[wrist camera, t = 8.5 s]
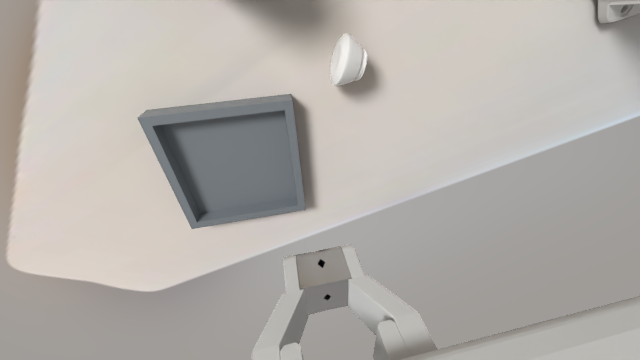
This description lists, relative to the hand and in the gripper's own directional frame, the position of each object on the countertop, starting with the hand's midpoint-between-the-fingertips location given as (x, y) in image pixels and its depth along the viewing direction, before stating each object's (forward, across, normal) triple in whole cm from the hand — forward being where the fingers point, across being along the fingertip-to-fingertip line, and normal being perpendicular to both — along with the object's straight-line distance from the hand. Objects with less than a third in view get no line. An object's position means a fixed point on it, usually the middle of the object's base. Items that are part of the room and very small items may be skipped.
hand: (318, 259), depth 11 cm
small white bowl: (+24, -8, -4) cm, 25 cm away
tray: (+24, +7, +7) cm, 25 cm away
